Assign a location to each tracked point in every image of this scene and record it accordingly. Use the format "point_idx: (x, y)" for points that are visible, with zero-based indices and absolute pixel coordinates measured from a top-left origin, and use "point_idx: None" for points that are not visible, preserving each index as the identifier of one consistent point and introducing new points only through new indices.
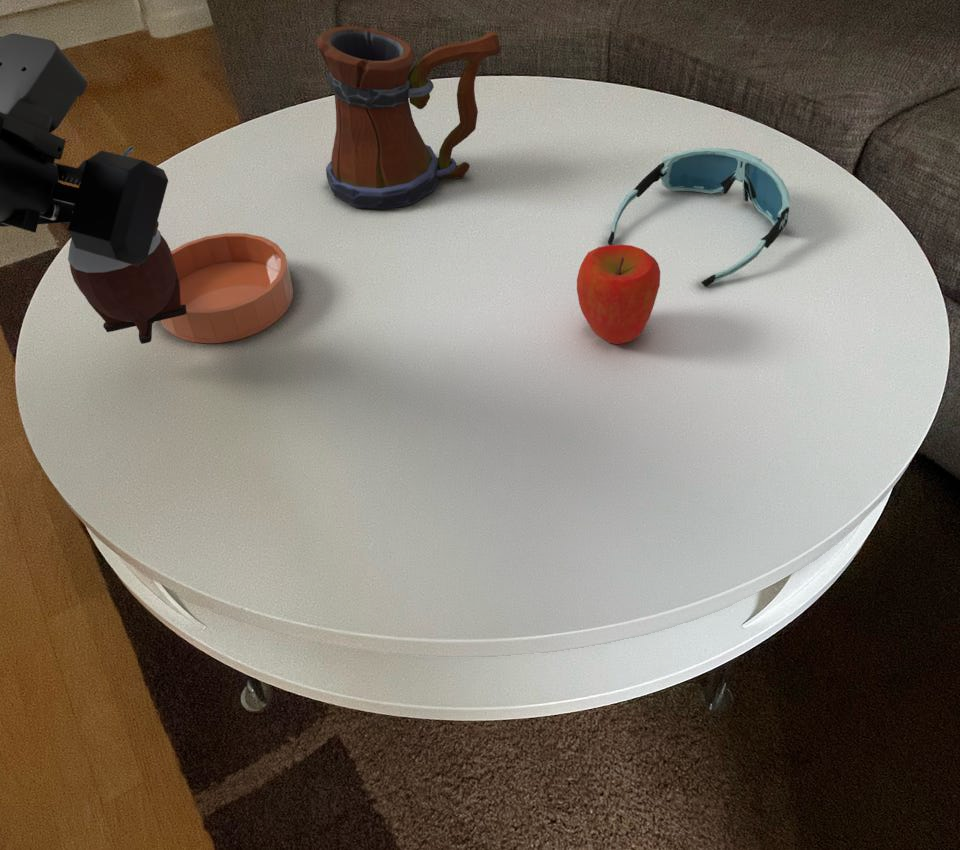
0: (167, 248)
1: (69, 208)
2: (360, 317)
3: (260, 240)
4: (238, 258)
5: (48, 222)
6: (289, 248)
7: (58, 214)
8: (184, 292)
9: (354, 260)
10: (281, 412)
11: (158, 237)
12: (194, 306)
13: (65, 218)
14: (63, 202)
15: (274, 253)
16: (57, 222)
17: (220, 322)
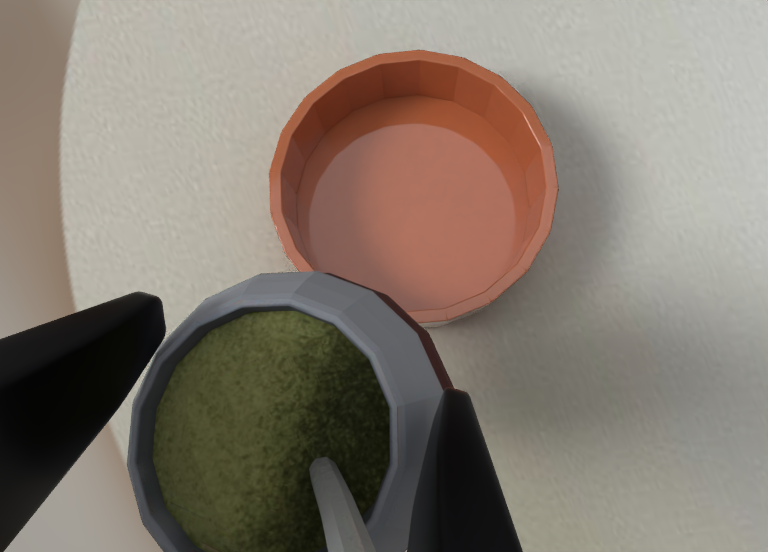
0: (440, 362)
1: (63, 421)
2: (683, 221)
3: (460, 68)
4: (397, 93)
5: (6, 544)
6: (470, 41)
7: (30, 483)
8: (327, 198)
9: (607, 60)
10: (637, 504)
11: (438, 387)
12: (362, 236)
13: (69, 457)
14: (21, 438)
15: (494, 96)
16: (45, 497)
17: (461, 316)
